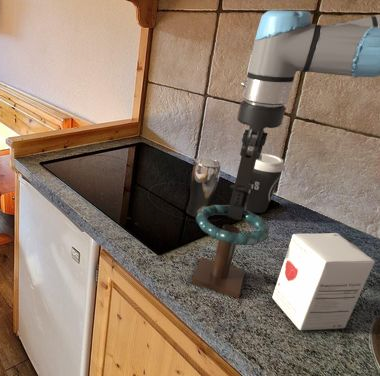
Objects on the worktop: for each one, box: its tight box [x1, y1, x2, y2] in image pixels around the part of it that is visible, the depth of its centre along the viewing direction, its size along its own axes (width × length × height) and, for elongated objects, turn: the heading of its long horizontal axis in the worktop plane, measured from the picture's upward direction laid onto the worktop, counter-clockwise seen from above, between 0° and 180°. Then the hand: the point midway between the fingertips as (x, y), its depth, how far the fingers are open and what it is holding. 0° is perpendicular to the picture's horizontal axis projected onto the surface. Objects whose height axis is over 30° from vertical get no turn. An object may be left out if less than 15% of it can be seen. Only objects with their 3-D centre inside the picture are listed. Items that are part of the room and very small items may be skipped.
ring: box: [195, 204, 270, 246], centre depth 79 cm, size 13×13×2 cm
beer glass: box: [185, 157, 222, 218], centre depth 108 cm, size 7×7×15 cm
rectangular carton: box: [271, 232, 376, 331], centre depth 73 cm, size 9×9×15 cm
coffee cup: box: [244, 152, 286, 214], centre depth 112 cm, size 10×10×15 cm
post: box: [191, 224, 246, 299], centre depth 82 cm, size 9×9×12 cm
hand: (234, 214), depth 84 cm, fingers closed on ring, 2 cm apart
